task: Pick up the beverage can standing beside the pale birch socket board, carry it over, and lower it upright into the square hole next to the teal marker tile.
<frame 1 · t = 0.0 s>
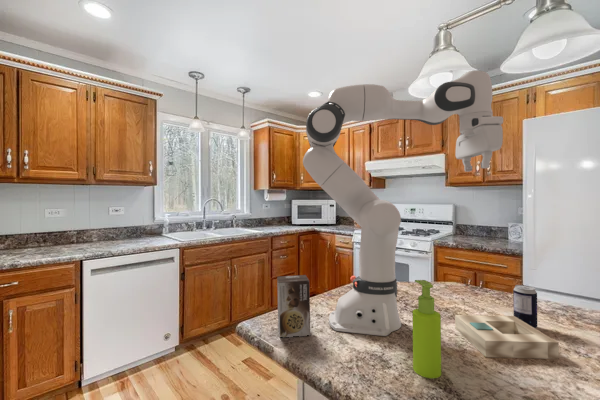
hand: (476, 169, 89), 48 cm above the countertop, tool pointing down, fingers open, 8 cm apart
soap dispenser: (425, 370, 66), on the countertop
beverage can: (525, 327, 87), on the countertop
grey cardboard box: (293, 333, 85), on the countertop
socket board: (501, 341, 78), on the countertop
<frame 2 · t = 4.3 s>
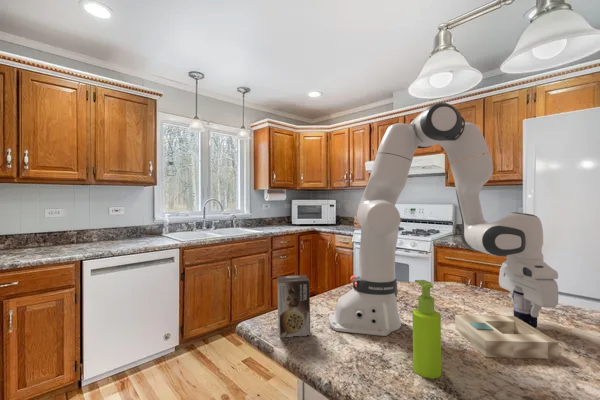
hand: (525, 311, 87), 5 cm above the countertop, tool pointing down, fingers closed on beverage can, 6 cm apart
beverage can: (525, 327, 87), on the countertop, touching gripper
everything else where it was.
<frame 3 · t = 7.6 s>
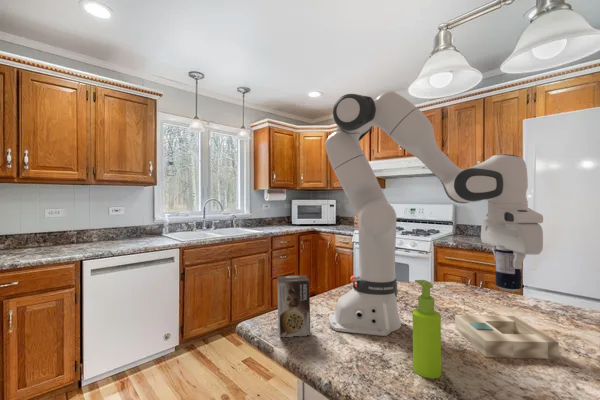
hand: (507, 265, 78), 21 cm above the countertop, tool pointing down, fingers closed on beverage can, 6 cm apart
beverage can: (508, 289, 78), point 14 cm above the countertop, touching gripper
everything else where it was.
when the fingers open (6 cm above the countertop, at t = 11.2 s): beverage can stays where it is, resting in socket board.
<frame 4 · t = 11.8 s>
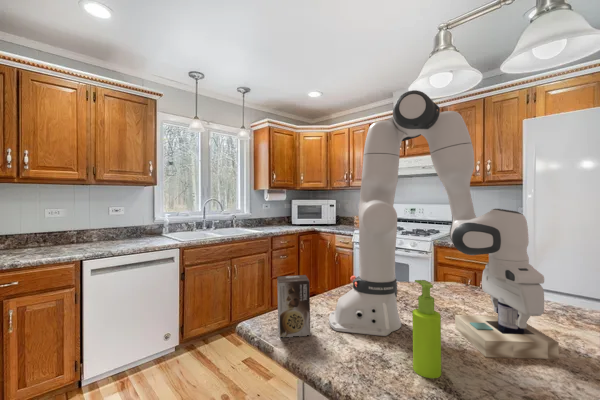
hand: (508, 319, 78), 6 cm above the countertop, tool pointing down, fingers open, 8 cm apart
beverage can: (510, 343, 78), resting in socket board
everything else where it was.
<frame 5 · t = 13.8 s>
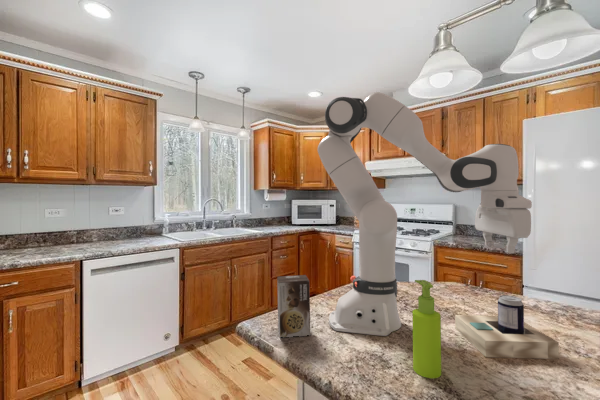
hand: (499, 249, 82), 24 cm above the countertop, tool pointing down, fingers open, 8 cm apart
nothing on the countertop moved.
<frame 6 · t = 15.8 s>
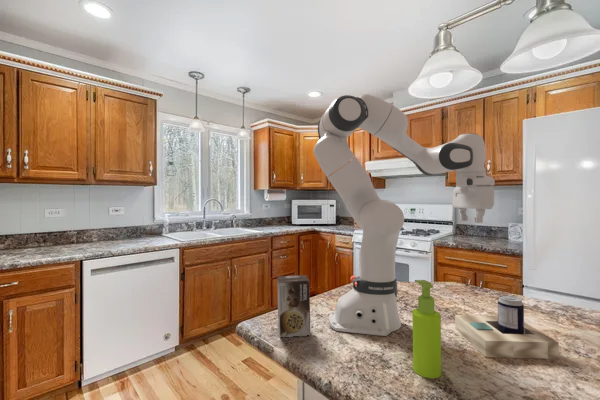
hand: (471, 221, 99), 31 cm above the countertop, tool pointing down, fingers open, 8 cm apart
nothing on the countertop moved.
at the end: beverage can 0.4 cm from the target spot on the socket board, point 0.0 cm above the socket board's base; beverage can tilted 0°; the gripper is holding nothing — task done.
